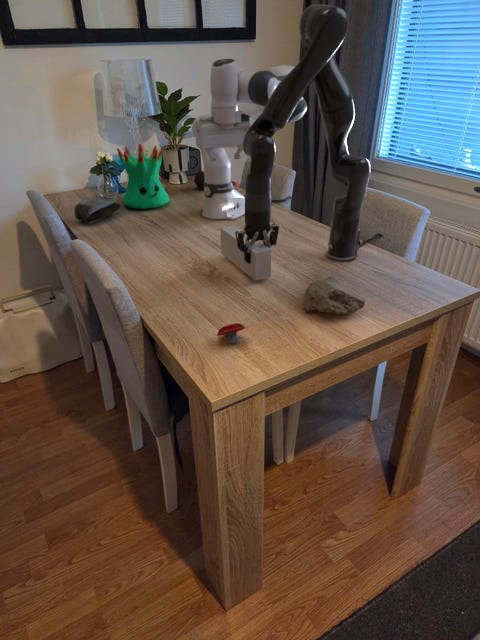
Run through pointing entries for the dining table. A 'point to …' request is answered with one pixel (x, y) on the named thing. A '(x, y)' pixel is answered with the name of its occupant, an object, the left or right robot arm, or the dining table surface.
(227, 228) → the bar
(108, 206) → the dark grey case
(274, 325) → the dining table surface
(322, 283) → the artifact
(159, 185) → the toy
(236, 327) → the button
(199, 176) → the toy
